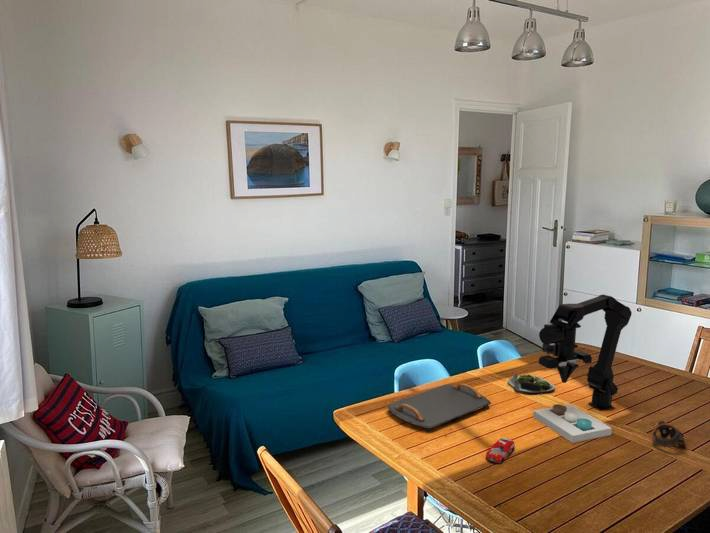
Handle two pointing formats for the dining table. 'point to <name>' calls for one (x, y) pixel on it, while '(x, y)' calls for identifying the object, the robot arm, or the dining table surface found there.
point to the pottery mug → (665, 432)
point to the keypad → (572, 425)
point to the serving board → (439, 405)
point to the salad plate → (531, 384)
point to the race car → (500, 450)
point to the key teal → (584, 424)
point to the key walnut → (559, 409)
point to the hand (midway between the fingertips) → (563, 382)
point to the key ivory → (571, 416)
